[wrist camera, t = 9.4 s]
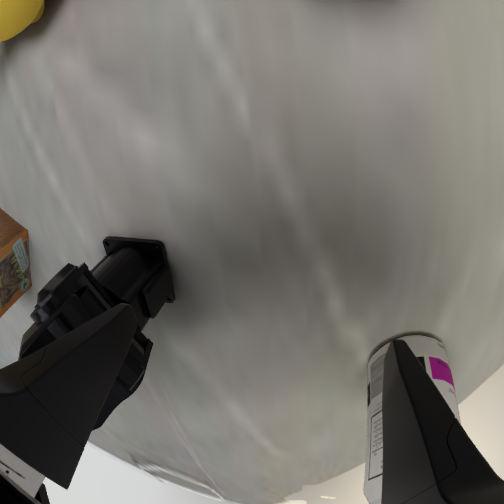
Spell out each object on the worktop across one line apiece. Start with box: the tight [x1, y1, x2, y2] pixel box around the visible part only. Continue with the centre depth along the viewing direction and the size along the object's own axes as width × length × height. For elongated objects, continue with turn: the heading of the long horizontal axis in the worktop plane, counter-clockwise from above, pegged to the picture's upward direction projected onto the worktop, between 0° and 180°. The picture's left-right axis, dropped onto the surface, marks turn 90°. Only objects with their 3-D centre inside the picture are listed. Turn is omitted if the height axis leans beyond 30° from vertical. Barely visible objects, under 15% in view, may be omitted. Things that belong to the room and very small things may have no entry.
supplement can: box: [363, 335, 461, 504], centre depth 20 cm, size 8×8×15 cm
